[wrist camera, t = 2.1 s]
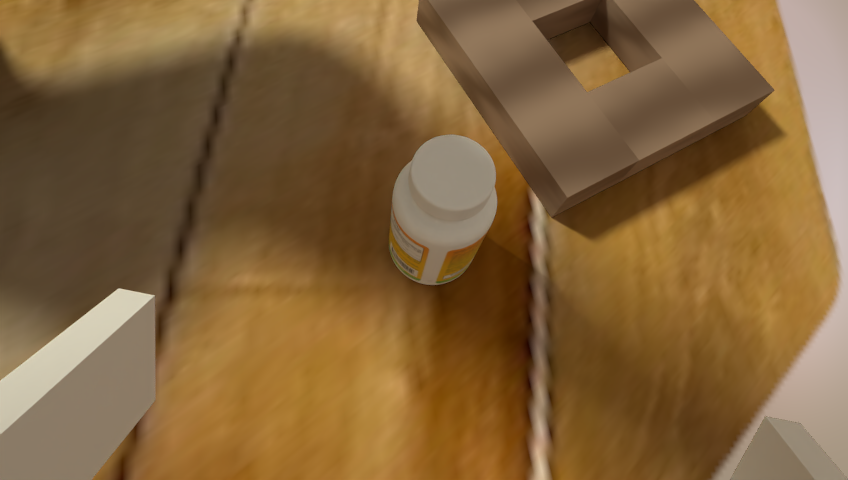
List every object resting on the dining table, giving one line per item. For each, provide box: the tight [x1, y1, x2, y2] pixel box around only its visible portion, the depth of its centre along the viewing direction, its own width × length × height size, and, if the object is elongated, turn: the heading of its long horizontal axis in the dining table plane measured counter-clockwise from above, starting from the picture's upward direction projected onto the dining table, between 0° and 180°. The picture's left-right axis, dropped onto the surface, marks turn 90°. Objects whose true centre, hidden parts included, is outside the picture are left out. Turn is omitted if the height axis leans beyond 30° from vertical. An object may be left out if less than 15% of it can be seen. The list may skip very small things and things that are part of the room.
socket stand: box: [417, 0, 774, 217], centre depth 38 cm, size 18×18×3 cm
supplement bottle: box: [389, 135, 497, 285], centre depth 29 cm, size 5×5×10 cm
